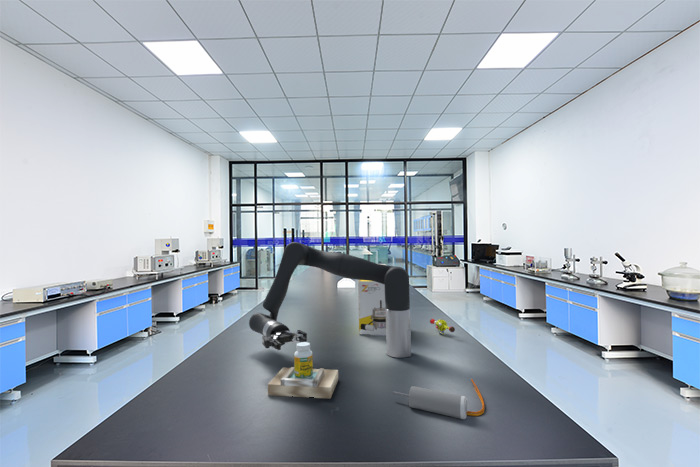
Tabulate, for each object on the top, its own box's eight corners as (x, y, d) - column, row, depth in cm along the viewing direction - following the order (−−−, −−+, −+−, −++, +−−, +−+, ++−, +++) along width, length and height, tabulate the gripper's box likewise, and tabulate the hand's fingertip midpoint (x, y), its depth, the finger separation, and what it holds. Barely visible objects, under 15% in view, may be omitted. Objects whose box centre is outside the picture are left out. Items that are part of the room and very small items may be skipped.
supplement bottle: (308, 371, 94) (307, 340, 94) (316, 377, 89) (315, 344, 90) (291, 376, 91) (291, 343, 91) (298, 382, 86) (298, 348, 87)
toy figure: (425, 329, 150) (425, 316, 151) (435, 328, 152) (435, 315, 152) (448, 340, 133) (447, 324, 133) (458, 339, 135) (458, 323, 135)
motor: (482, 427, 70) (481, 403, 71) (389, 405, 80) (390, 384, 81) (488, 398, 90) (487, 380, 91) (413, 384, 100) (414, 368, 101)
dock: (338, 379, 95) (338, 365, 96) (330, 399, 83) (330, 382, 84) (283, 377, 98) (282, 362, 98) (267, 395, 86) (267, 379, 86)
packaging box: (392, 326, 158) (391, 277, 159) (394, 335, 142) (393, 281, 143) (361, 326, 159) (360, 277, 161) (359, 335, 143) (358, 281, 144)
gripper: (256, 324, 107) (270, 336, 94) (294, 319, 115) (313, 329, 101) (256, 346, 107) (270, 361, 93) (294, 339, 115) (313, 352, 101)
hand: (292, 344), depth 97 cm, fingers open, 8 cm apart
